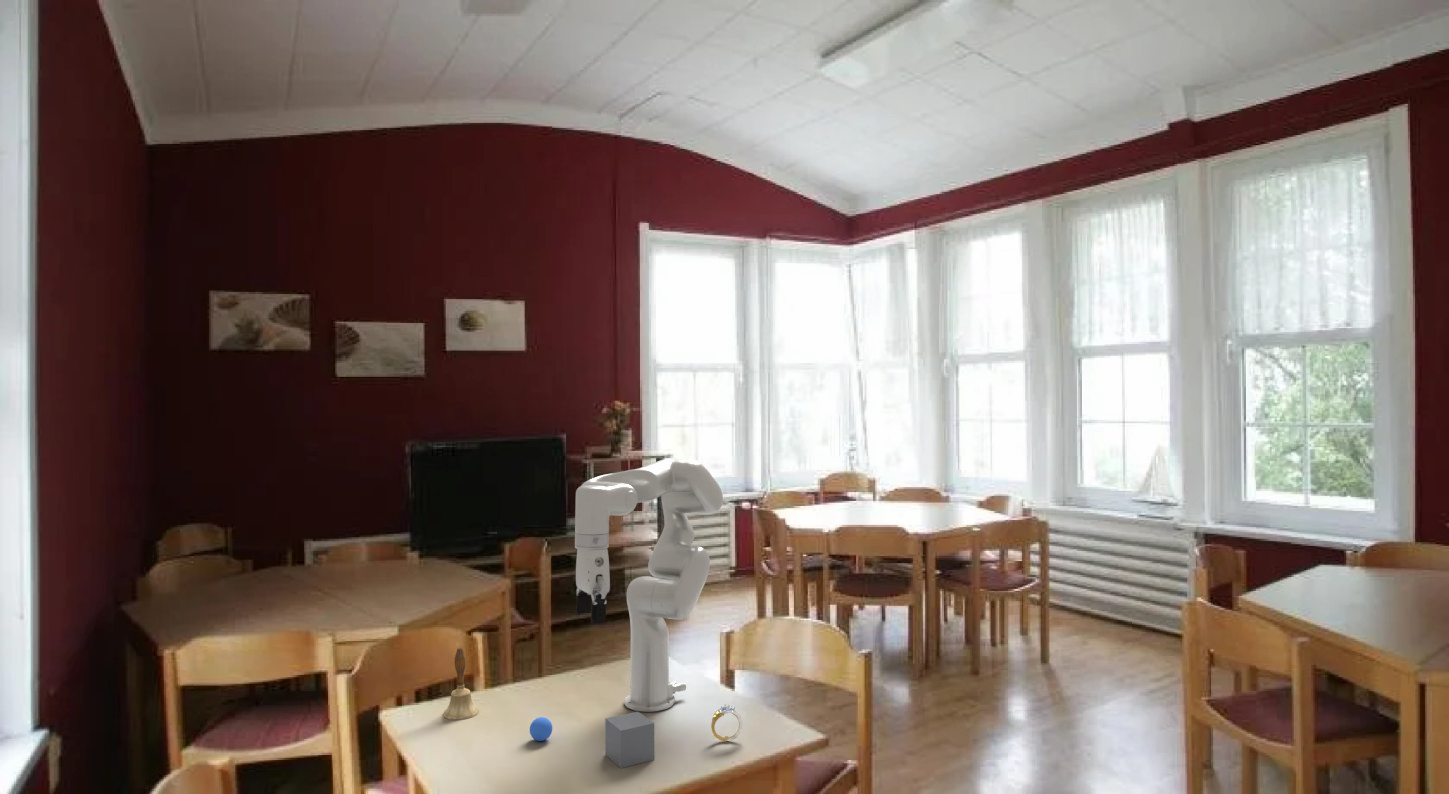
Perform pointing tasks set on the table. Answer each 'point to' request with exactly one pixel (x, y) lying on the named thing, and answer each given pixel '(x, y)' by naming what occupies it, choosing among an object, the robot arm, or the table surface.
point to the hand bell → (460, 694)
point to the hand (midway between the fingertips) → (590, 617)
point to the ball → (541, 729)
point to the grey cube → (629, 739)
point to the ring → (724, 711)
